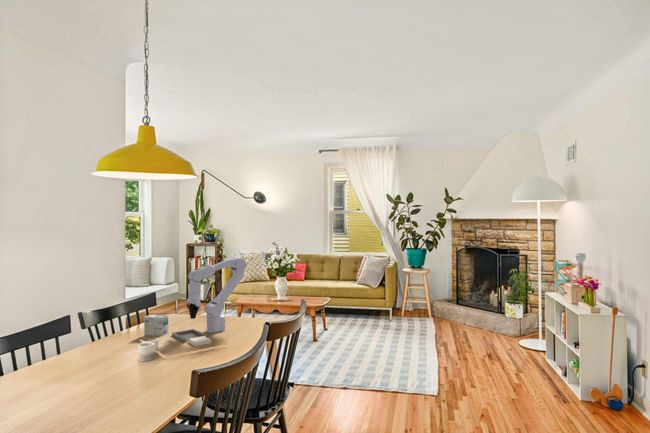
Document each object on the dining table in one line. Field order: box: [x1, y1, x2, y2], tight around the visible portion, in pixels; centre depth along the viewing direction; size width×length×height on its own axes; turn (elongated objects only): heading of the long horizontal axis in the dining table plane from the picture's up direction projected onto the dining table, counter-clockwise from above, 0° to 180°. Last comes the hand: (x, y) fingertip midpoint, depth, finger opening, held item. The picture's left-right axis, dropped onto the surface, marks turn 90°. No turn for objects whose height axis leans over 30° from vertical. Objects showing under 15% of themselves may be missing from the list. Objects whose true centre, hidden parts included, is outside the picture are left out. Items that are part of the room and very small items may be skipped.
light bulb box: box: [143, 314, 169, 337], centre depth 233 cm, size 11×7×11 cm, turn 84°
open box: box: [171, 328, 208, 344], centre depth 226 cm, size 12×17×2 cm
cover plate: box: [188, 336, 212, 347], centre depth 216 cm, size 8×8×2 cm
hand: (192, 318), depth 231 cm, fingers closed
